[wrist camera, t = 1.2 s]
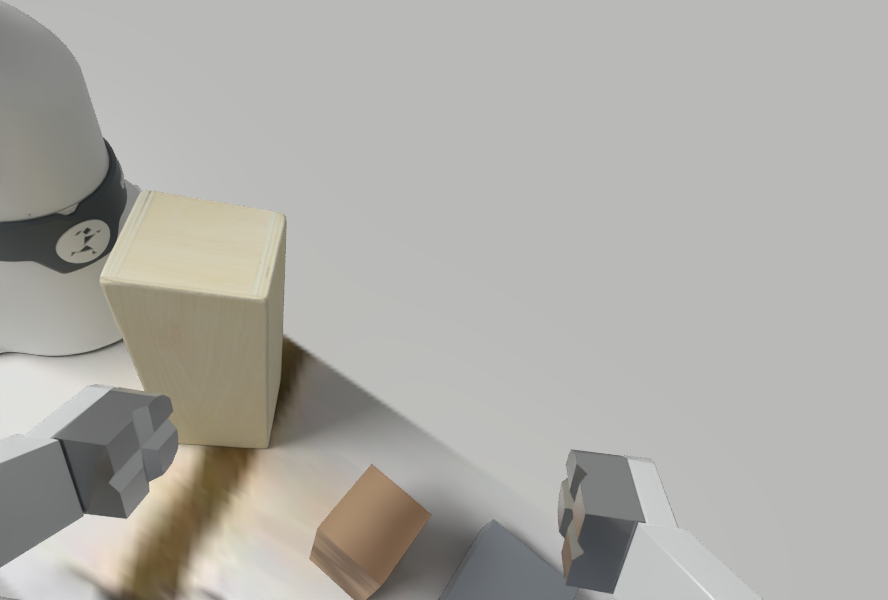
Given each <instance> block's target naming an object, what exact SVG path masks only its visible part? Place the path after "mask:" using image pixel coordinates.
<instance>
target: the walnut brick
mask: <svg viewBox="0 0 888 600" xmlns="http://www.w3.org/2000/svg"><path fill="white" fill-rule="evenodd" d="M431 515H432V514H430V513H429V512H428V511H427V510H426V509H424V508H423V507H422V506H421V505H420V504H419V503H417V502H416V501H415V500H414V499H413V498H411V497H410V496H409V495H408V494H407V493H406V492H404V491H403V490H402V489H401V488H400V487H398V486H397V485H396V484H395V483H394V482H393V481H391V480H390V479H389V478H388V477H387V476H385V475H384V474H383V473H382V472H381V471H380V470H378V469H377V468H376V467H375V466H374V465H372V464H371V466H370V467H369V468H368V469H367V470H366V471H365V473H364V474H363V475H362V476H361V477H360V479H359V480H358V481H357V482H356V483H355V484H354V486H353V487H352V488H351V489H350V490H349V491H348V493H347V494H346V495H345V496H344V497H343V499H342V500H341V501H340V502H339V503H338V504H337V506H336V507H335V508H334V509H333V510H332V512H331V513H330V514H329V515H328V516H327V517H326V519H325V520H324V521H323V522H322V523H321V524H320V526H319V527H318V529H317V532H316V536H315V540H314V543H313V547H312V551H311V555H310V558H309V559H310V560H311V561H312V562H313V563H315V564H316V565H317V566H318V567H319V568H320V569H321V570H322V571H323V572H324V573H325V574H327V575H328V576H329V577H330V578H331V579H332V580H333V581H334V582H335V583H336V584H337V585H339V586H340V587H341V588H342V589H343V590H344V591H345V592H346V593H347V594H348V595H349V596H351V597H352V598H353V599H354V600H366V599H368V598H369V597H370V596H371V595H372V594H373V593H374V592H375V591H376V590H378V589H379V588H380V587H381V586H382V585H383V583H384V582H385V581H386V579H387V578H388V576H389V575H390V573H391V572H392V571H393V569H394V568H395V566H396V565H397V563H398V562H399V560H400V559H401V558H402V556H403V555H404V553H405V552H406V550H407V549H408V548H409V546H410V545H411V543H412V542H413V540H414V539H415V538H416V536H417V535H418V533H419V532H420V530H421V529H422V528H423V526H424V525H425V523H426V522H427V520H428V519H429V518H430V516H431Z"/></svg>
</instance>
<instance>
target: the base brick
mask: <svg viewBox="0 0 888 600" xmlns="http://www.w3.org/2000/svg"><path fill="white" fill-rule="evenodd" d="M577 592H578V588H576V587H572V586H566V585H565V578H564V577H563V576H562V575H561V574H560V573H558V572H557V571H556V570H555V569H553V568H552V567H551V566H550V565H549V564H547V563H546V562H545V561H544V560H543V559H541V558H540V557H539V556H538V555H536V554H535V553H534V552H533V551H532V550H530V549H529V548H528V547H527V546H526V545H524V544H523V543H522V542H521V541H519V540H518V539H517V538H516V537H515V536H513V535H512V534H511V533H510V532H509V531H507V530H506V529H505V528H504V527H502V526H501V525H500V524H499V523H498V522H496V521H495V520H493V521H491V522H490V523H489V524H487V525H486V526H485V527H483V528H482V529H481V531H480V533H479V534H478V536H477V537H476V539H475V541H474V542H473V544H472V546H471V547H470V549H469V550H468V552H467V554H466V555H465V557H464V559H463V560H462V562H461V564H460V565H459V567H458V568H457V570H456V572H455V573H454V575H453V577H452V578H451V580H450V581H449V583H448V585H447V586H446V588H445V590H444V591H443V593H442V594H441V596H440V598H439V599H438V600H574V599H575V596H576V594H577Z"/></svg>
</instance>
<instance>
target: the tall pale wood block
mask: <svg viewBox="0 0 888 600" xmlns="http://www.w3.org/2000/svg"><path fill="white" fill-rule="evenodd" d="M285 253H286V216H285V215H284V214H282V213H279V212H274V211H268V210H263V209H256V208H250V207H244V206H238V205H233V204H227V203H221V202H215V201H209V200H203V199H198V198H192V197H186V196H179V195H174V194H168V193H163V192H157V191H148V190H146V191H142V192H141V193H140V194H139V196H138V198H137V200H136V202H135V204H134V206H133V208H132V210H131V212H130V214H129V216H128V219H127V221H126V223H125V225H124V227H123V229H122V231H121V233H120V235H119V237H118V239H117V241H116V243H115V245H114V247H113V249H112V251H111V253H110V255H109V258H108V260H107V262H106V264H105V266H104V268H103V271H102V273H101V275H100V280H99V282H100V285H101V288H102V290H103V293H104V295H105V298H106V300H107V303H108V305H109V307H110V310H111V312H112V314H113V317H114V319H115V322H116V324H117V326H118V329H119V331H120V333H121V336H122V338H123V341H124V343H125V345H126V347H127V350H128V352H129V354H130V357H131V359H132V361H133V364H134V366H135V369H136V371H137V373H138V376H139V378H140V380H141V383H142V385H143V388H144V390H145V392H151V393H157V394H164V395H165V396H167V397H169V398H170V399H171V403H172V407H173V412H172V414H171V415H170V417H169V418H168V419H169V420H170V422H171V423H172V424H173V425H174V426H175V427H176V428H177V432H178V438H179V439H178V443H182V444H197V445H212V446H227V447H241V448H258V449H264V448H267V447H268V445H269V440H270V435H271V429H272V424H273V419H274V413H275V408H276V402H277V397H278V392H279V386H280V380H281V362H282V338H283V306H284V280H285Z"/></svg>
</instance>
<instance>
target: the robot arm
mask: <svg viewBox="0 0 888 600" xmlns="http://www.w3.org/2000/svg"><path fill="white" fill-rule="evenodd" d="M141 192H142V190H141V189H140V188H139V187H138V186H137V185H132V184H131V183H130V182H128V181H127V180H125V179H124V174H123V171H122V168H121V165H120V163H119V161H118V160H117V158H116V156H115V154H114V152H113V149H112V147H111V146H110V145H109V143H108V142H107V141H106V140H105V139H104V138H103V136H102V133H101V130H100V127H99V124H98V121H97V118H96V115H95V111H94V108H93V106H92V102H91V99H90V96H89V93H88V90H87V86H86V83H85V81H84V77H83V74H82V71H81V68H80V66H79V64H78V62H77V60H76V59H75V57H74V56H73V54H72V53H71V52H70V50H69V49H68V48H67V46H66V45H65V44H64V43H63V42H62V41H61V40H60V39H59V38H58V37H57V36H55V34H53V33H52V32H51V31H50V30H49V29H47V28H46V27H45V26H43V25H42V24H40V23H39V22H38V21H36V20H35V19H33V18H32V17H30V16H29V15H27V14H25V13H24V12H22V11H20V10H19V9H17V8H15V7H13V6H11V5H9V4H7V3H5V2H3V1H0V353H3V352H21V353H28V354H35V355H47V356H58V355H71V354H78V353H83V352H88V351H92V350H95V349H98V348H101V347H104V346H107V345H109V344H112V343H114V342H116V341H118V340H120V339H122V336H121V333H120V331H119V329H118V326H117V324H116V322H115V319H114V317H113V314H112V312H111V310H110V307H109V305H108V303H107V300H106V298H105V295H104V293H103V290H102V288H101V285H100V282H99V280H100V275H101V273H102V271H103V268H104V266H105V264H106V262H107V260H108V258H109V255H110V253H111V251H112V249H113V247H114V245H115V243H116V241H117V239H118V237H119V235H120V233H121V231H122V229H123V227H124V225H125V223H126V221H127V219H128V216H129V214H130V212H131V210H132V208H133V206H134V204H135V202H136V200H137V198H138V196H139V194H140V193H141ZM172 412H173V407H172V403H171V399H170V398H169V397H167V396H165V395H164V394H157V393H151V392H145V391H139V390H132V389H126V388H120V387H119V388H116V387H110V386H104V385H98V384H95V385H91V386H87V387H86V388H84V389H83V390H82V391H80V392H79V393H78V394H77V395H75V396H74V397H73V398H71V399H70V400H69V401H68V402H66V403H65V404H64V405H63V406H61V407H60V408H59V409H57V410H56V411H55V412H54V413H52V414H51V415H50V416H48V417H47V418H46V419H45V420H43V421H42V422H41V423H39V424H38V425H37V426H36V427H34V428H33V429H32V430H31V431H29V432H28V433H27V434H25V435H21V434H16V435H13V436H10V437H8V438H5V439H2V440H0V567H2V566H3V565H5V564H7V563H8V562H10V561H12V560H13V559H15V558H16V557H18V556H20V555H21V554H23V553H25V552H26V551H28V550H29V549H31V548H33V547H34V546H36V545H37V544H39V543H41V542H42V541H44V540H46V539H47V538H49V537H50V536H52V535H54V534H55V533H57V532H59V531H60V530H62V529H63V528H65V527H67V526H68V525H70V524H71V523H73V522H75V521H76V520H78V519H80V518H81V517H83V516H84V514H92V515H100V516H108V517H116V518H125V519H127V518H128V517H129V516H130V514H131V513H132V512H133V511H134V510H135V508H136V507H137V506H138V505H139V504H140V502H141V501H142V500H143V499H144V497H145V496H146V495H147V494H148V493H149V482H150V481H152V480H154V479H156V478H158V477H159V476H161V475H163V474H164V473H165V472H166V470H167V469H168V468H169V467H170V465H171V464H172V462H173V460H174V457H175V455H176V452H177V450H178V439H179V438H178V432H177V428H176V427H175V426H174V425H173V424H172V423H171V422H170V420H169V419H168V418H169V417H170V415H171V414H172ZM566 467H567V475H568V478H567V479H566V480H564V481H563V482H562V484H561V489H560V493H559V502H558V525H559V532H560V534H561V535H562V536H563V537H564V538H565V541H564V545H563V549H562V561H563V569H564V577H565V585H566V586H572V587H577V588H583V589H588V590H594V591H599V592H605V593H611V594H613V598H614V599H615V600H763V599H762V598H761V597H760V596H759V595H757V593H755V592H754V591H753V590H752V589H751V588H750V587H749V586H748V585H747V584H746V583H745V582H743V581H742V580H741V579H740V578H739V577H738V576H737V575H736V574H735V573H734V572H733V571H732V570H731V569H729V568H728V567H727V566H726V565H725V564H724V563H723V562H722V561H721V560H720V559H719V558H717V557H716V556H715V555H714V554H713V553H712V552H711V551H710V550H709V549H708V548H706V547H705V546H704V545H703V544H702V543H701V542H700V541H699V540H698V539H697V538H696V537H695V536H694V535H692V534H691V533H690V532H689V531H688V530H687V529H680V528H678V525H677V522H676V520H675V517H674V514H673V512H672V509H671V506H670V504H669V501H668V498H667V496H666V493H665V490H664V488H663V485H662V482H661V480H660V477H659V474H658V472H657V469H656V466H655V464H654V462H653V461H652V460H651V459H648V458H639V457H631V456H618V455H611V454H603V453H595V452H587V451H579V450H571V451H570V453H569V455H568V459H567V463H566ZM0 600H18V599H12V598H5V597H0Z"/></svg>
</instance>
